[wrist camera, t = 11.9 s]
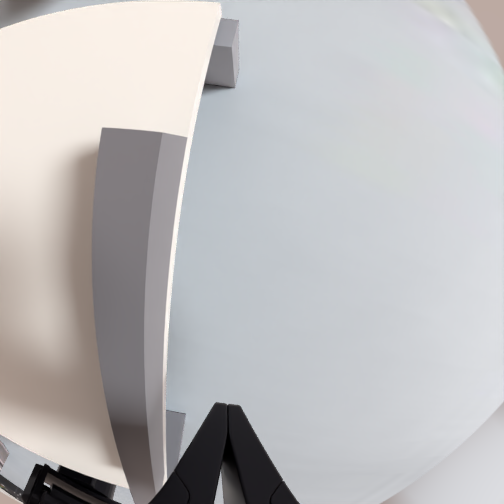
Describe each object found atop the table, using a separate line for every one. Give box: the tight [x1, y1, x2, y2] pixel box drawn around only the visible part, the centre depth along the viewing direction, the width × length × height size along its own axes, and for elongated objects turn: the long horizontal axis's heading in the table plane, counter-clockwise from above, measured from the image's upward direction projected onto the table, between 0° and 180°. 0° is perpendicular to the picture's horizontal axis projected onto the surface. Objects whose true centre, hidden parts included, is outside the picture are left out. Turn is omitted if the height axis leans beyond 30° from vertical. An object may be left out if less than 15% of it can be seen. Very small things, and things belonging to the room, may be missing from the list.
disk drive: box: [0, 475, 24, 502], centre depth 32 cm, size 10×3×15 cm
